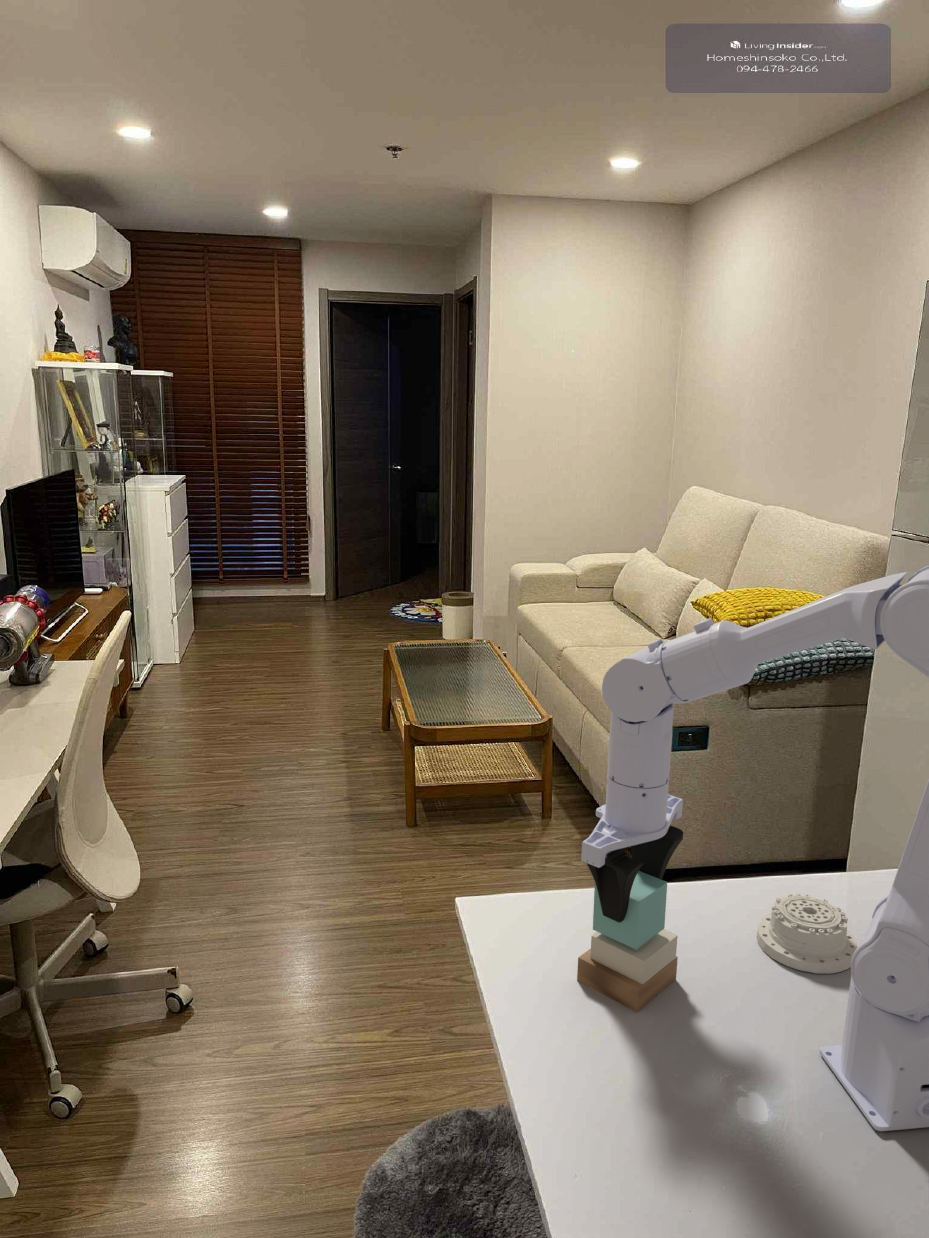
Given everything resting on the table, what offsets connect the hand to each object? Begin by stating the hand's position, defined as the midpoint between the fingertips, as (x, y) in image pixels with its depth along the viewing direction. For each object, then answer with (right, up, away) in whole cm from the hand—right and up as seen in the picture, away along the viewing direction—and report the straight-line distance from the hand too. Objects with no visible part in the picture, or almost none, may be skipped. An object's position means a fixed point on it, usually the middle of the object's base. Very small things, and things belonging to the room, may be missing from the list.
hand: (629, 906), depth 91 cm
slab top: (+1, -5, +1) cm, 6 cm away
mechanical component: (+20, -7, +8) cm, 23 cm away
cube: (0, -2, +1) cm, 2 cm away
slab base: (0, -8, +2) cm, 9 cm away
